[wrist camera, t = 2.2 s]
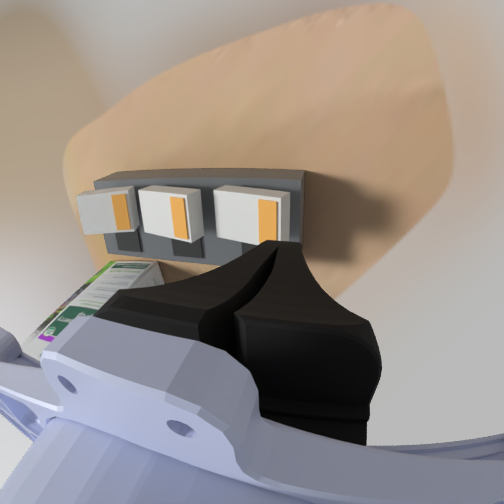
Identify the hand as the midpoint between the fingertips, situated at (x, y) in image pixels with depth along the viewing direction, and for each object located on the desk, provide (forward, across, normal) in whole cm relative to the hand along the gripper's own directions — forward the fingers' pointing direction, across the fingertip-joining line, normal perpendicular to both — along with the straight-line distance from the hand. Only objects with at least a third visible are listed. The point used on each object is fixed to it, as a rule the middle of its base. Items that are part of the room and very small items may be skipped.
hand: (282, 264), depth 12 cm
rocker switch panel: (+10, +8, +1) cm, 12 cm away
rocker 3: (+5, +2, 0) cm, 6 cm away
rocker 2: (+5, +8, 0) cm, 9 cm away
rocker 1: (+5, +12, 0) cm, 14 cm away
